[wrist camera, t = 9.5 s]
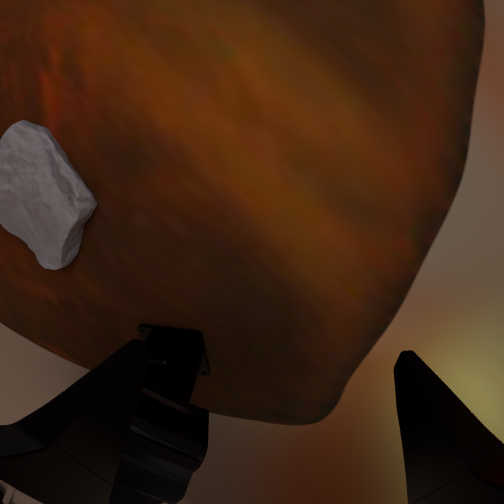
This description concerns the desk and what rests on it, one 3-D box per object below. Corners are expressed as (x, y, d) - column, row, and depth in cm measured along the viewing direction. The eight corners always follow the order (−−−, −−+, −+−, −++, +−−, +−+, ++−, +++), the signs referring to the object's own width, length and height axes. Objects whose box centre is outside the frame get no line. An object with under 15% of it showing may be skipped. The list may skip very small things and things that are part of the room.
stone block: (40, 108, 18) (2, 194, 21) (8, 107, 14) (-28, 206, 16) (125, 178, 22) (76, 263, 24) (101, 188, 17) (51, 286, 20)
